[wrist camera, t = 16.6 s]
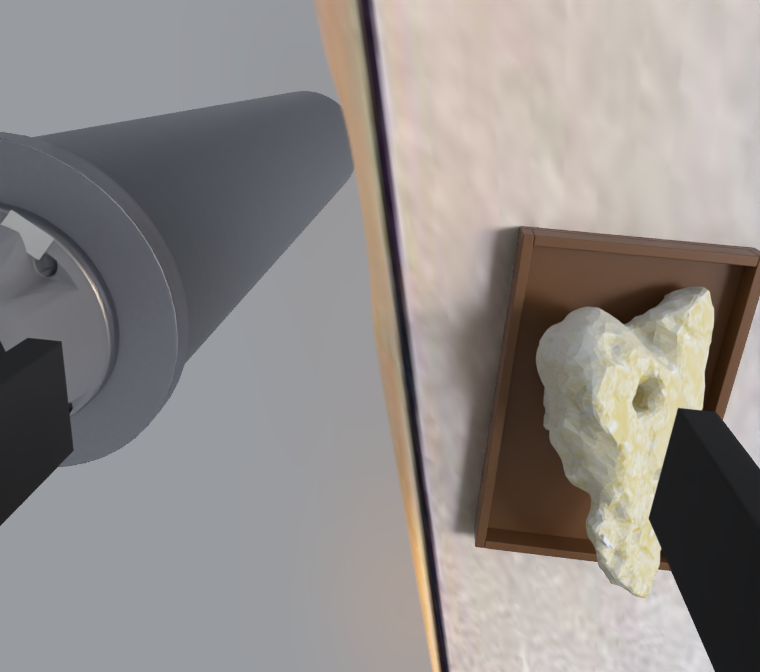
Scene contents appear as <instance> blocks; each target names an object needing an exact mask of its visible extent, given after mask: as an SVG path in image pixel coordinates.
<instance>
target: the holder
mask: <svg viewBox="0 0 760 672" xmlns="http://www.w3.org/2000/svg"><path fill="white" fill-rule="evenodd" d="M697 286H698V287H704V288H706V289H707V290H708V291H709V292H710V296H711V301H712V305H713V307H714V327H713V331H712V339H711V344H710V346H709V354H708V359H707V364H706V368H705V391H704V401H703V409H702V410H703V411H712V412H717V414H718V415H719V416H720V418H721V419H722V420H723V417H724V414H725V411H726V407H727V404H728V401H729V397H730V394H731V391H732V387H733V384H734V380H735V377H736V374H737V370H738V367H739V364H740V360H741V357H742V354H743V350H744V347H745V343H746V340H747V337H748V333H749V330H750V327H751V323H752V320H753V317H754V313H755V310H756V306H757V303H758V300H759V296H760V251H759V250H757V249H755V248H749V247H738V246H727V245H716V244H706V243H695V242H684V241H673V240H663V239H652V238H641V237H630V236H620V235H609V234H598V233H588V232H577V231H566V230H555V229H545V228H534V227H523V226H521V227H520V231H519V237H518V244H517V250H516V257H515V264H514V270H513V277H512V283H511V290H510V296H509V303H508V310H507V316H506V323H505V329H504V336H503V342H502V349H501V355H500V362H499V369H498V375H497V382H496V388H495V395H494V401H493V408H492V415H491V421H490V428H489V434H488V441H487V447H486V454H485V461H484V467H483V474H482V480H481V487H480V493H479V500H478V507H477V513H476V520H475V526H474V530H475V546H476V547H481V548H488V549H496V550H504V551H512V552H521V553H529V554H537V555H545V556H553V557H561V558H570V559H578V560H586V561H594V562H598V561H597V555H596V550H595V547H594V545H593V543H592V542H591V540H590V539H589V538H588V535H587V530H586V520H587V517H588V514H589V511H590V509H591V497H590V494H589V493H587V492H586V491H584V490H582V489H580V488H578V487H576V486H574V485H573V484H572V483H571V482H570V481H569V480H568V478H567V477H566V475H565V472H564V468H563V464H562V460H561V458H560V456H559V455H558V453H557V451H556V450H555V448H554V447H553V446H552V444H551V442H550V438H549V432H550V431H549V430H546V429H545V427H544V426H543V423H544V415H545V407H544V405H543V401H544V389H545V386H544V385H543V383H542V381H541V379H540V376H539V373H538V370H537V365H536V353H537V349H538V347H539V341H540V339H541V338H542V336H543V335H544V333H545V332H546V330H547V329H549V328H550V327H551V326H552V325H555V324H558V323H560V322H562V321H563V320H564V319H565V317H566V316H567V315H568V314H569V313H571V312H572V311H574V310H577V309H579V308H583V307H597V308H600V309H601V310H603V311H605V312H607V313H608V314H610V315H612V316H613V317H614V318H616V319H617V320H619V321H620V322H621V323H622V324H627V323H628V322H630V321H631V320H632V319H633V318H634V317H635V316H639V315H643V314H644V313H646V312H647V311H648V310H649V309H652V308H654V307H656V306H657V305H659V303H660V302H661V301H662V300H663V299H664V296H665V295H666V294H669V293H670V292H672V291H676V290H680V289H683V288H687V287H697ZM658 569H659V570H669V571H671V569H670V567H669V565H668V562H667V560H666V558H665V556H664V553H663V551H662V549H661V550H660V565H659V568H658Z"/></svg>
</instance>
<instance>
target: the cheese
mask: <svg viewBox="0 0 760 672" xmlns="http://www.w3.org/2000/svg"><path fill="white" fill-rule="evenodd" d="M713 327H714V307H713V305H712V301H711V296H710V292H709V291H708V290H707V289H706V288H704V287H698V286H697V287H687V288H683V289H680V290H676V291H672V292H670V293H669V294H666V295H665V296H664V299H663V300H662V301H661V302H660V303H659V305H657V306H656V307H654V308H652V309H649V310H648V311H647V312H646V313H644V314H643V315H639V316H635V317H634V318H633V319H632V320H631V321H630V322H628V323H627V324H622V323H621V322H620V321H619V320H617V319H616V318H614V317H613V316H612V315H610V314H608V313H607V312H605V311H603V310H601V309H600V308H597V307H583V308H579V309H577V310H574V311H572V312H571V313H569V314H568V315H567V316H566V317H565V319H564V320H563V321H562V322H560V323H558V324H555V325H552V326H551V327H550V328H549V329H547V330H546V332H545V333H544V335H543V336H542V338H541V339H540V341H539V347H538V349H537V353H536V365H537V370H538V373H539V376H540V379H541V381H542V383H543V385H544V386H545V389H544V401H543V405H544V407H545V415H544V423H543V426H544V427H545V429H546V430H549V431H550V432H549V438H550V442H551V444H552V446H553V447H554V448H555V450H556V451H557V453H558V455H559V456H560V458H561V460H562V464H563V468H564V472H565V475H566V477H567V478H568V480H569V481H570V482H571V483H572V484H573V485H574V486H576V487H578V488H580V489H582V490H584V491H586V492H587V493H589V494H590V497H591V509H590V511H589V514H588V517H587V520H586V530H587V535H588V538H589V539H590V540H591V542H592V543H593V545H594V547H595V550H596V555H597V561H598V565H599V567H600V568H601V569H602V570H603V571H604V573H605V574H606V576H607V577H608V579H609V581H610V583H612V584H615V585H618V586H621V587H623V588H625V589H626V590H628V591H629V592H630V593H631V594H633V595H635V596H637V597H642V598H643V597H646V596H647V595H648V593H649V592H650V590H651V588H652V584H653V580H654V578H655V576H656V573H657V571H658V568H659V565H660V550H661V546H660V544H659V542H658V539H657V537H656V535H655V533H654V530H653V528H652V526H651V523H650V521H649V519H648V518H649V514H650V511H651V507H652V503H653V499H654V496H655V492H656V488H657V484H658V481H659V477H660V473H661V469H662V466H663V462H664V458H665V455H666V451H667V447H668V443H669V440H670V436H671V432H672V428H673V425H674V421H675V417H676V413H677V410H678V408H684V409H694V410H702V409H703V401H704V391H705V368H706V364H707V359H708V354H709V346H710V344H711V339H712V331H713Z"/></svg>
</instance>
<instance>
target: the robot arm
mask: <svg viewBox="0 0 760 672" xmlns="http://www.w3.org/2000/svg"><path fill="white" fill-rule="evenodd" d="M118 349H119V325H118V318H117V313H116V309H115V305H114V302H113V299H112V296H111V294H110V291H109V289H108V287H107V285H106V283H105V281H104V279H103V277H102V275H101V274H100V272H99V271H98V269H97V267H96V266H95V264H94V263H93V262H92V260H91V259H90V258H89V257H88V255H87V254H86V253H85V252H84V251H83V250H82V249H81V247H80V246H79V245H78V244H77V243H76V242H75V241H73V240H72V239H71V238H70V237H69V236H68V235H67V234H65V233H64V232H63V231H62V230H60V229H59V228H58V227H56V226H55V225H53V224H52V223H50V222H49V221H47V220H45V219H44V218H42V217H40V216H38V215H36V214H34V213H32V212H30V211H27V210H25V209H22V208H19V207H16V206H13V205H9V204H5V203H1V202H0V526H1V524H2V523H4V521H5V520H6V519H7V518H8V517H9V516H10V515H11V514H12V513H13V512H14V511H15V510H16V509H17V508H18V507H19V506H20V505H21V504H22V503H23V502H24V501H25V500H26V499H27V498H28V497H29V496H30V495H31V494H32V493H33V492H34V491H35V490H36V489H37V488H38V487H39V486H40V485H41V484H42V483H43V482H44V480H45V479H47V477H48V476H49V475H50V474H51V473H52V472H53V471H54V470H55V469H56V468H57V467H58V466H59V465H60V464H61V463H62V462H63V461H64V460H65V459H66V458H67V457H68V456H69V455H70V454H71V453H72V452H73V451H74V449H73V440H72V430H71V421H70V418H71V417H72V416H74V415H75V414H77V413H78V412H79V411H81V410H82V409H83V408H84V407H85V406H86V405H87V404H88V403H89V402H90V401H91V400H93V399H94V398H95V397H96V396H97V395H98V394H99V392H100V391H101V390H102V389H103V387H104V386H105V385H106V383H107V381H108V380H109V378H110V376H111V374H112V371H113V369H114V366H115V363H116V360H117V355H118ZM648 519H649V521H650V523H651V526H652V528H653V530H654V533H655V535H656V537H657V539H658V542H659V544H660V546H661V549H662V551H663V553H664V556H665V558H666V560H667V562H668V565H669V567H670V569H671V572H672V574H673V576H674V578H675V581H676V583H677V585H678V588H679V590H680V592H681V595H682V597H683V599H684V601H685V604H686V606H687V608H688V611H689V613H690V615H691V618H692V620H693V622H694V624H695V627H696V629H697V631H698V634H699V636H700V638H701V640H702V643H703V645H704V647H705V650H706V652H707V654H708V657H709V659H710V661H711V663H712V666H713V668H714V670H715V672H760V469H759V467H758V466H757V465H756V463H755V462H754V461H753V459H752V458H751V457H750V456H749V454H748V453H747V452H746V450H745V449H744V448H743V446H742V445H741V444H740V442H739V441H738V440H737V439H736V437H735V436H734V435H733V433H732V432H731V431H730V429H729V428H728V427H727V425H726V424H725V423H724V422H723V420H722V419H721V418H720V416H719V415H718V414H717V412H712V411H703V410H694V409H684V408H678V410H677V413H676V417H675V421H674V425H673V428H672V432H671V436H670V440H669V443H668V447H667V451H666V455H665V458H664V462H663V466H662V469H661V473H660V477H659V481H658V484H657V488H656V492H655V496H654V499H653V503H652V507H651V511H650V514H649V518H648Z"/></svg>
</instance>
